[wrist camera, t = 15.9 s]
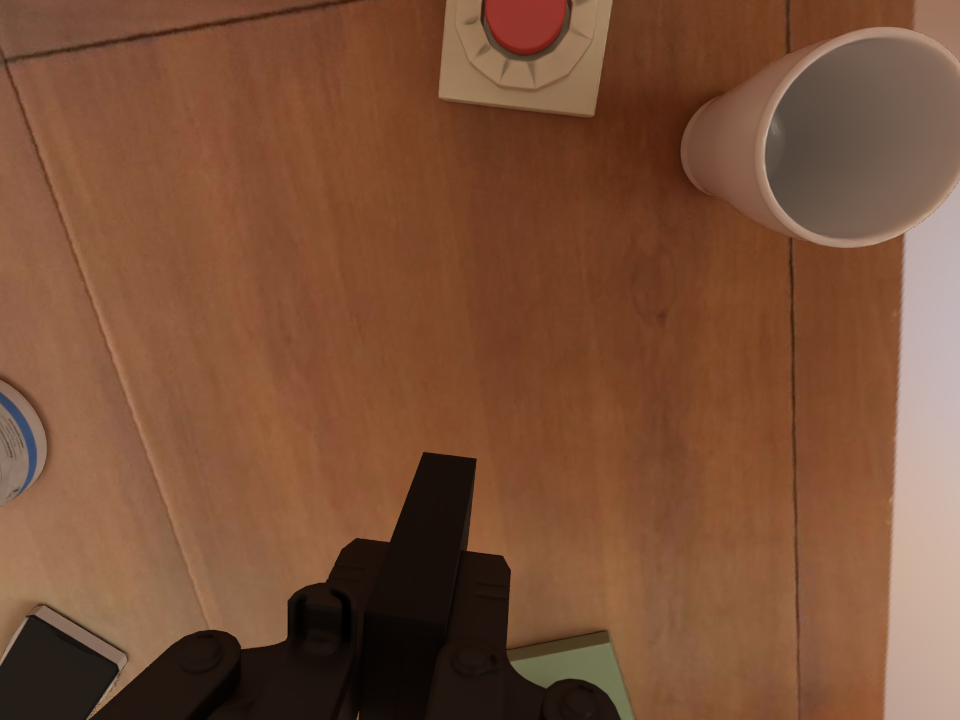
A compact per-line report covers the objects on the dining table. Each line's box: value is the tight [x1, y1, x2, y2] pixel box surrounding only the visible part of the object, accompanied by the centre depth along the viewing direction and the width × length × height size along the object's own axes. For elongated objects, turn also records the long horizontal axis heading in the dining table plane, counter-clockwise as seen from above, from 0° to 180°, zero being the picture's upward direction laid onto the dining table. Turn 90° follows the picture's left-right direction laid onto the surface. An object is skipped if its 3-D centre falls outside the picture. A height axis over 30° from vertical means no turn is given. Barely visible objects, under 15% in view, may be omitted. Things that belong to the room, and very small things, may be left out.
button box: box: [438, 0, 613, 118], centre depth 31 cm, size 8×8×4 cm
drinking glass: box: [680, 27, 960, 248], centre depth 27 cm, size 7×7×15 cm
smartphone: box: [0, 605, 127, 720], centre depth 50 cm, size 8×1×15 cm
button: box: [485, 0, 567, 55], centre depth 29 cm, size 4×4×2 cm
